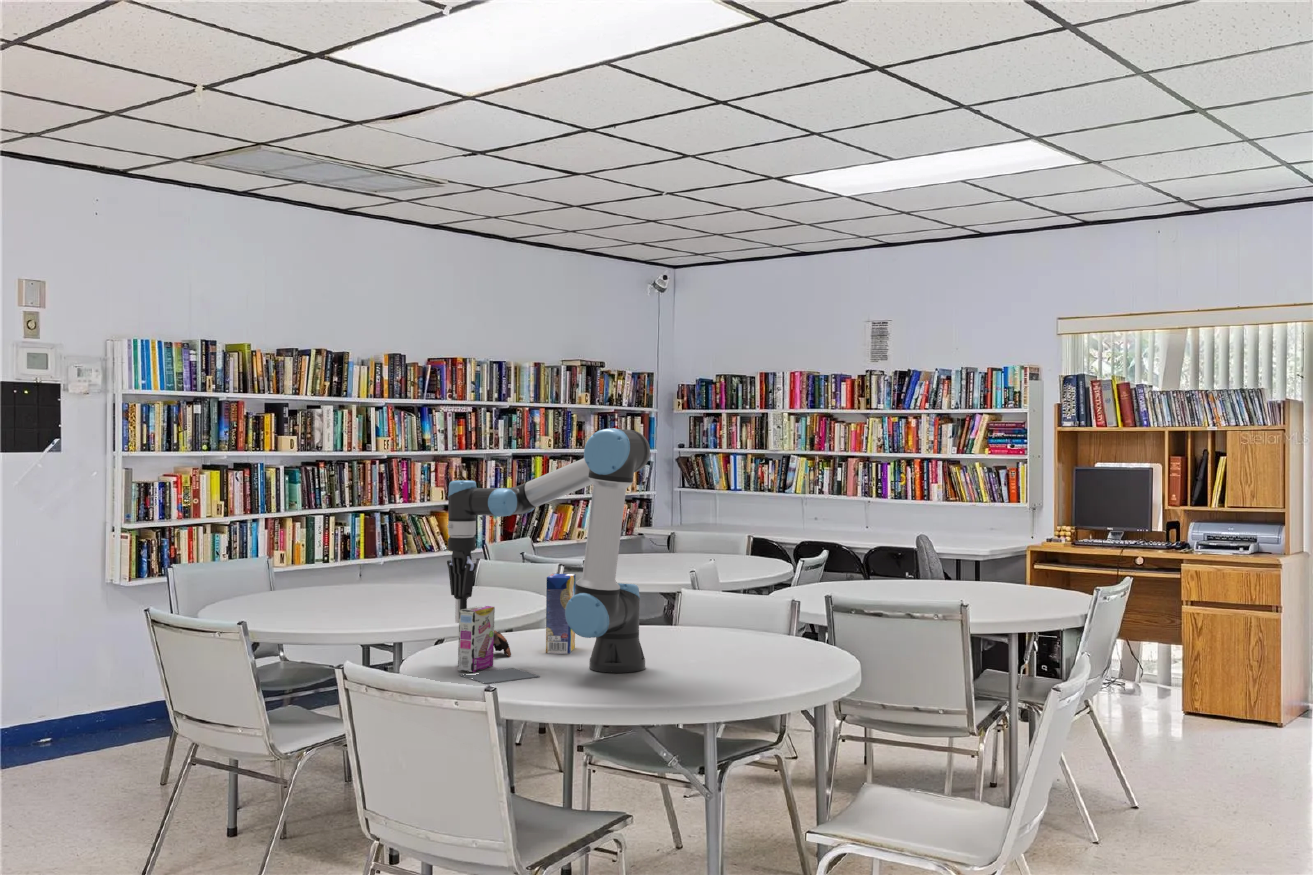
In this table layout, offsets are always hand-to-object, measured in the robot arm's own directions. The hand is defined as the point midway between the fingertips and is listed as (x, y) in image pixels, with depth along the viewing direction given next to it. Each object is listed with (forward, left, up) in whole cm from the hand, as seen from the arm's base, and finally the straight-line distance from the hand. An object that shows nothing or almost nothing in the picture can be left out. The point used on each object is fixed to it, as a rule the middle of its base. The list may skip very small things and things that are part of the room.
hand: (460, 622), depth 312 cm
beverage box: (+3, -34, -12) cm, 37 cm away
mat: (-21, 0, -11) cm, 24 cm away
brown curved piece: (+7, -14, -12) cm, 20 cm away
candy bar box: (-9, 0, -12) cm, 15 cm away
